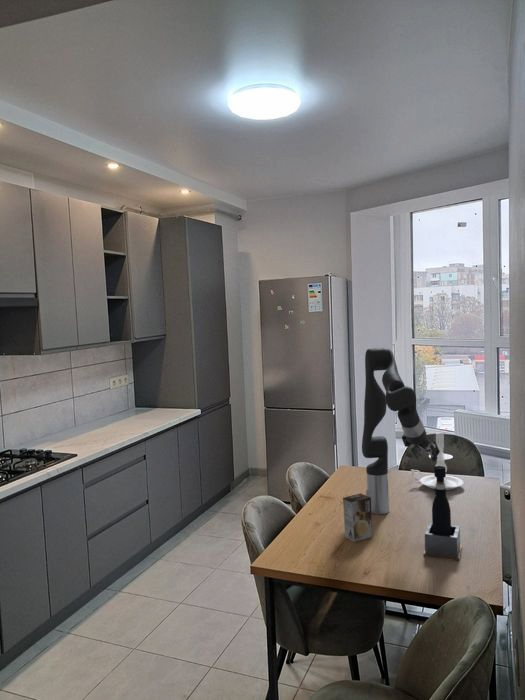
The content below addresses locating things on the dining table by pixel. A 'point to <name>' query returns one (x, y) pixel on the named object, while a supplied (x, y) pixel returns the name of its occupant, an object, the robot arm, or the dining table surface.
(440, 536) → the bottle sleeve
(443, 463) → the candlestick
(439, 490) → the wine bottle
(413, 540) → the dining table surface
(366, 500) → the coffee box
